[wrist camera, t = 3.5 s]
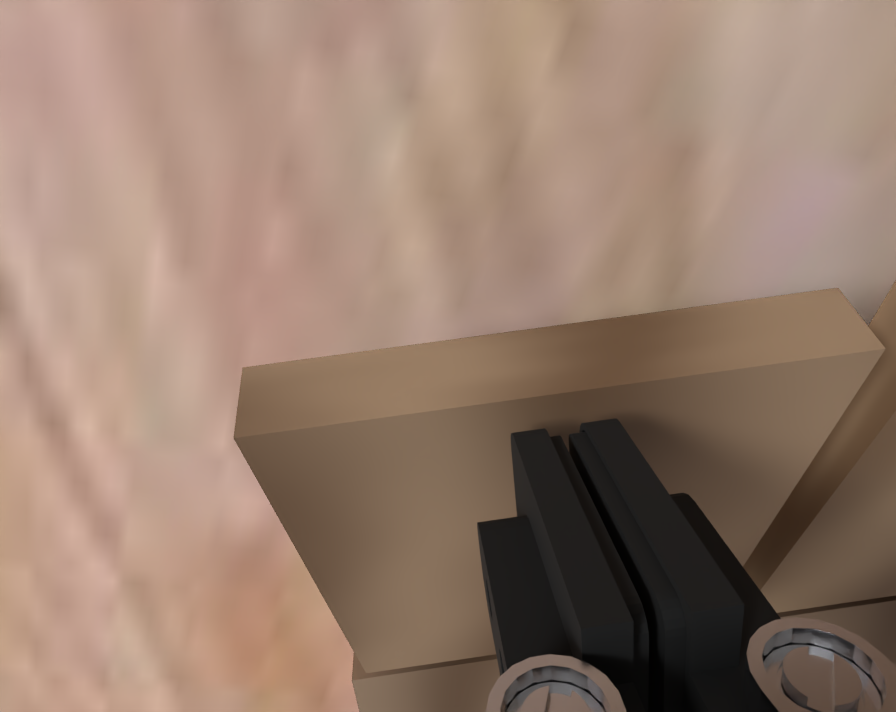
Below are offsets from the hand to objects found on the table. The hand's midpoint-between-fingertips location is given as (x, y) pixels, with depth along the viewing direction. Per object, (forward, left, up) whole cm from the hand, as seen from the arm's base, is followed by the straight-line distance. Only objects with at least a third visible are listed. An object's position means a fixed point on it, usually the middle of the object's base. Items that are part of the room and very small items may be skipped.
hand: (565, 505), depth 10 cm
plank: (0, +3, -4) cm, 5 cm away
